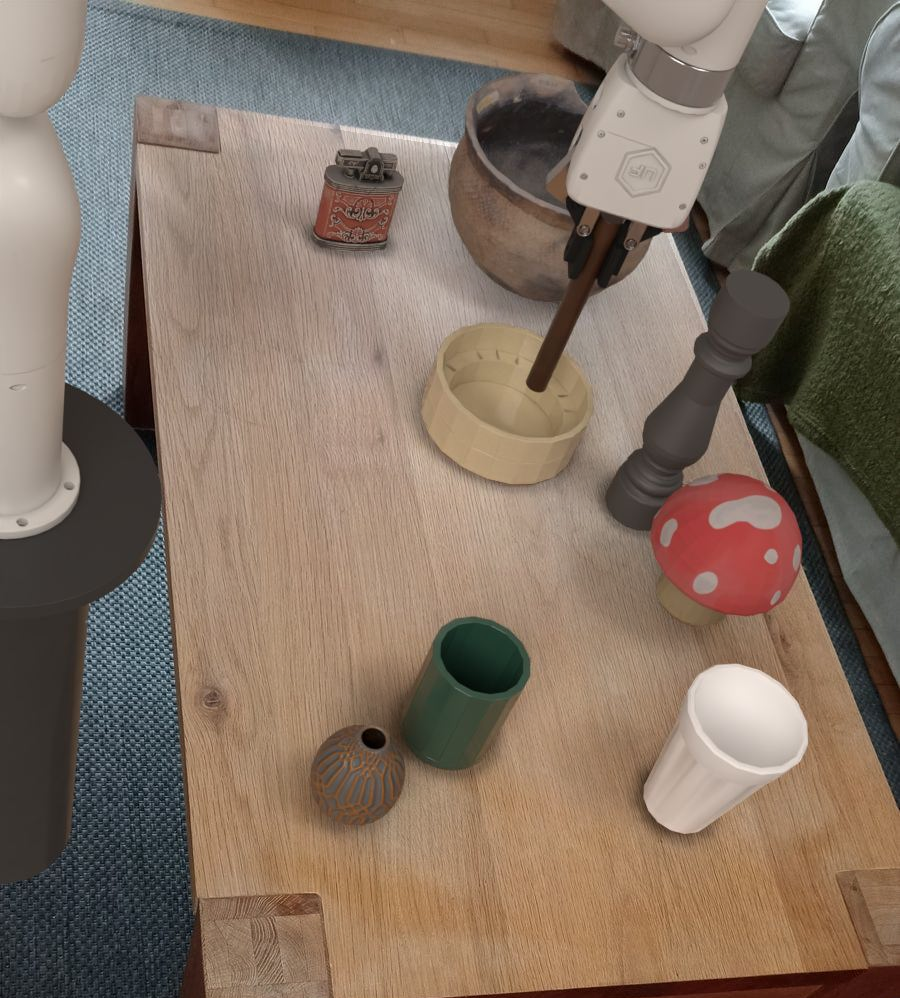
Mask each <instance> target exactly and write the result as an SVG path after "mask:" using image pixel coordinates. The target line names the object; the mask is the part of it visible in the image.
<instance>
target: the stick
mask: <svg viewBox="0 0 900 998" xmlns="http://www.w3.org/2000/svg"><path fill="white" fill-rule="evenodd" d="M622 223H623V218H621V217H618V216H615V215H611V214H608V213H605V212H602V211H601V212H600V214H599V216H598V218H597V221H596V223H595V225H594V231H593V240H594V241H593V245H592V247H591V249H590V252H589V254H588V256H587V258H586V261H585V263H584V265H583V267H582V270H581V272H580V274H579V276H578V278H577V279H575V280H572V279H570V282H569V284H568V286H567V288H566V291H565V293H564V295H563V298H562V300H561V302H559V304H558V307H557V309H556V311H555V313H554V315H553V318H552V320H551V323H550V325H549V327H548V329H547V332H546V334H545V337H544V341H543V343H542V345H541V347H540V350H539V352H538V354H537V357H536V359H535V361H534V363H533V366H532V368H531V370H530V372H529V375H528V377H527V379H526V385H527V387H528V388H529V389H530V390H532V391H534V392H538V393H541V392H544V391H545V390H546V388H547V386H548V384H549V381H550V379H551V377H552V375H553V373H554V370H555V368H556V366H557V364H558V362H559V360H560V357H561V355H562V353H563V351H565V349H566V347H567V344H568V343H569V340H570V338H571V336H572V334H573V331H574V329H575V327H576V325H577V322H578V321H579V318H580V316H581V314H582V311H584V310H583V309H584V307H585V305H586V303H587V301H588V299H589V298H590V297H589V294H590V292H591V290H592V288H593V286H594V284H595V281H596V279H597V277H598V275H599V273H600V270H601V268H602V266H603V264H604V262H605V260H606V257H607V255H608V253H609V251H610V249H611V247H612V244H613V242H614V240H615V238H616V236H617V234H618V231H619V229H620V227H621V225H622Z"/></svg>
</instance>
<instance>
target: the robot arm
mask: <svg viewBox="0 0 900 998" xmlns="http://www.w3.org/2000/svg"><path fill="white" fill-rule="evenodd" d="M769 1H770V0H601V2H603V4H604V5H606V6H607V7H608V8H609V9H610V10H611V11H612V12H614V14H616V15H617V16H618V18H620V19H621V20H622V21H623V22H624V23H625V24H626V25H627V26H623V25H621V24H620V25H619V26H618V28H617V30H616V32H615V36H614V40H613V46H614V47H617V48H619V49H622V51H623V53H621V54H620V55H619V56H618V57H617V59H616V60H615V61H614V63H613V64H612V66H611V68H610V69H609V70H608V72H607V73H606V75H605V77H604V79H603V80H602V82H601V84H600V85H599V86H598V89H597V90H596V92H595V94H594V96H593V97H592V98H591V101H590V103H589V105H588V109H587V111H586V113H585V115H584V117H583V119H582V121H581V123H580V125H579V127H578V129H577V131H576V134H575V136H574V138H573V140H572V143H571V145H570V148H569V151H568V154H567V155H566V156H565V157H564V158H563V159H562V160H561V161H560V162H559V163H558V164H557V165H556V166H555V167H554V168H553V169H552V170H551V171H550V172H549V174H548V175H547V176H546V189H547V191H548V192H549V193H551V194H552V195H553V196H554V197H555V198H557V199H558V200H559V201H560V202H563V203H564V204H565V205H566V207H567V209H568V211H569V213H570V215H571V217H572V219H573V221H574V223H575V226H574V228H573V231H572V233H571V235H570V238H569V240H568V242H567V245H566V247H565V250H564V256H563V258H564V261H566V262H568V278H569V279H572V280H575V279H577V278H578V276H579V274H580V272H581V270H582V267H583V265H584V263H585V261H586V258H587V256H588V254H589V252H590V249H591V247H592V245H593V241H594V240H593V231H594V225H595V223H596V221H597V218H598V216H599V214H600V212H601V211H602V212H605V213H608V214H611V215H615V216H618V217H621V218H624V220H623V223H622V225H621V227H620V229H619V231H618V234H617V236H616V238H615V240H614V242H613V244H612V247H611V249H610V251H609V253H608V255H607V257H606V260H605V262H604V264H603V266H602V268H601V270H600V273H599V275H598V277H597V284H598V285H599V287H601V288H604V289H605V290H607V288H606V287H607V285H608V283H609V281H610V279H611V277H612V275H614V276H617V275H618V273H619V271H620V269H621V267H622V265H623V263H624V261H625V259H626V257H627V255H628V252H629V250H634V249H636V248H637V246H638V244H639V243H640V242H643V241H645V240H647V239H650V238H652V237H653V238H654V237H657V236H658V235H660V234H662V233H663V234H671V233H672V234H673V233H683V232H687V230H688V229H689V227H690V215H691V213H690V212H691V211H692V208H693V207H694V204H695V202H696V200H697V197H698V195H699V193H700V190H701V188H702V186H703V183H704V180H705V177H706V175H707V174H708V171H709V168H710V166H711V164H712V160H713V158H714V154H715V152H716V149H717V146H718V143H719V140H720V137H721V135H722V131H723V128H724V125H725V121H726V118H727V115H728V109H729V106H728V105H729V104H728V102H727V99H726V95H725V91H726V89H727V87H728V85H729V84H730V81H731V78H732V77H733V75H734V73H735V71H736V69H737V66H738V65H739V62H740V61H741V59H742V57H743V54H744V53H745V50H746V48H747V46H748V45H749V42H750V41H751V38H752V36H753V34H754V31H755V30H756V27H757V26H758V23H759V21H760V20H761V18H762V15H763V14H764V11H765V9H766V7H767V6H768V4H769ZM88 3H89V0H0V539H16V538H24V537H29V536H33V535H37V534H40V533H42V532H44V531H47V530H49V529H51V528H53V527H54V526H56V525H57V524H59V523H60V522H62V521H63V520H64V519H65V518H66V517H67V516H68V515H69V514H70V512H71V511H72V509H73V508H74V506H75V504H76V502H77V499H78V496H79V491H80V471H79V467H78V464H77V462H76V459H75V457H74V456H73V454H72V452H71V451H70V449H69V448H68V447H67V446H66V445H65V444H64V443H63V442H62V432H63V410H64V388H65V382H66V368H67V367H66V364H67V363H66V362H67V345H68V344H67V343H68V317H69V302H70V293H71V283H72V278H73V272H74V268H75V265H76V261H77V257H78V253H79V250H80V245H81V238H82V212H81V211H82V210H81V204H80V200H79V199H80V198H79V193H78V190H77V186H76V183H75V179H74V175H73V172H72V170H71V167H70V165H69V164H70V163H69V161H68V159H67V156H66V154H65V151H64V148H63V146H62V144H61V141H60V139H59V136H58V133H57V131H56V128H55V126H54V124H53V122H52V119H51V118H50V116H49V114H48V111H47V110H50V109H51V108H52V107H53V106H55V105H56V104H57V103H58V102H59V101H60V100H61V99H62V98H63V96H64V95H65V94H66V93H67V91H68V90H69V88H70V87H71V85H72V84H73V81H74V79H75V78H76V75H77V73H78V70H79V67H80V64H81V60H82V56H83V52H84V48H85V40H86V29H87V28H86V27H87V15H88ZM653 238H652V239H653Z"/></svg>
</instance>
